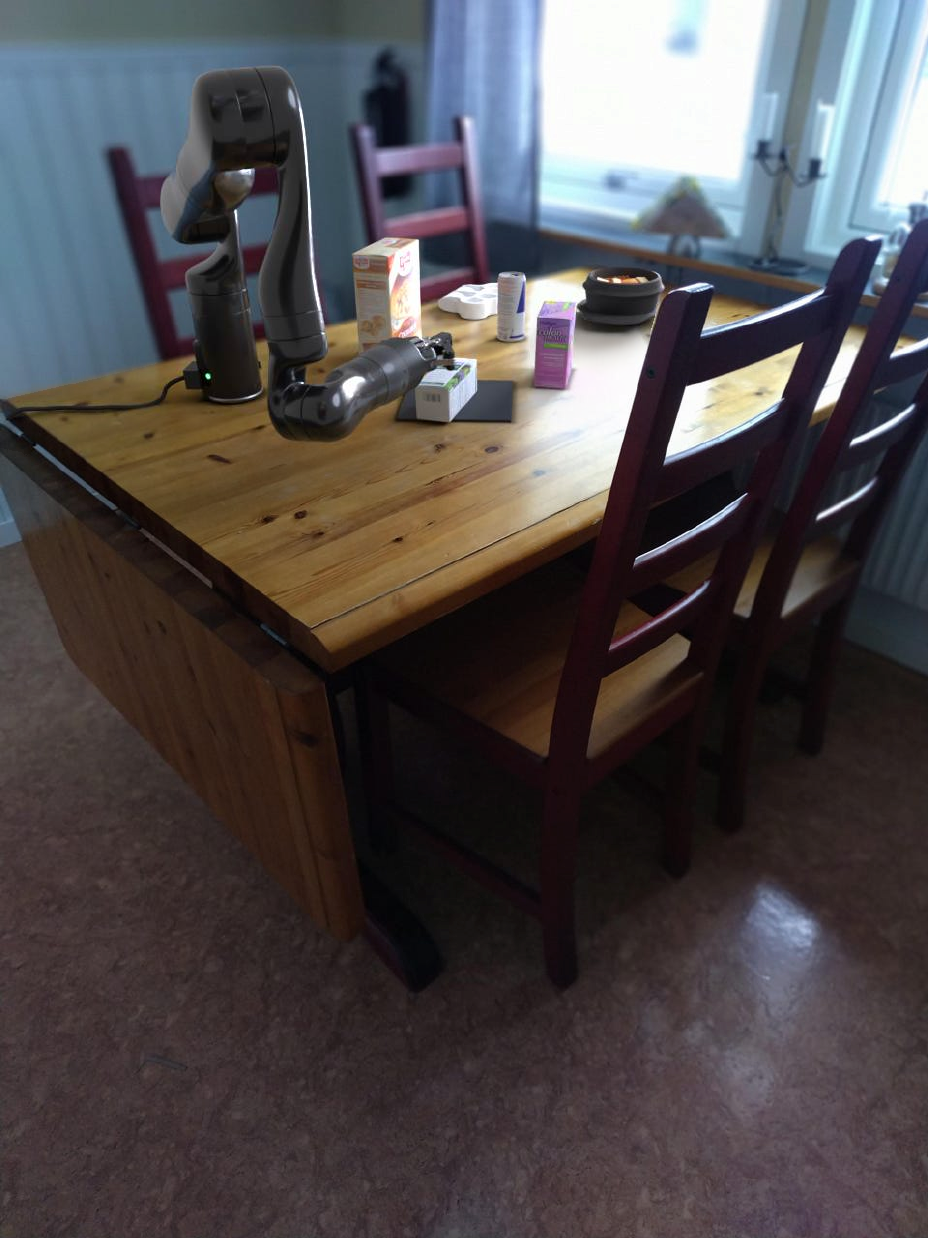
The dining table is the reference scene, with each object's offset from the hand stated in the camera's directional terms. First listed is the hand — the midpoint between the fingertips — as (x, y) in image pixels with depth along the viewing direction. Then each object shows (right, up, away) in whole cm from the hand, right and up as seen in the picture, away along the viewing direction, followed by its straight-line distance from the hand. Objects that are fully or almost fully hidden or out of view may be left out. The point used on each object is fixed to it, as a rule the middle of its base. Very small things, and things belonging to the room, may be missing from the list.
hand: (447, 338), depth 129 cm
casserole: (+36, +22, +51) cm, 66 cm away
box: (+18, 0, +20) cm, 27 cm away
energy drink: (+12, +13, +40) cm, 43 cm away
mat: (+2, -6, +12) cm, 14 cm away
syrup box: (-2, -10, +2) cm, 10 cm away
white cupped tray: (+6, +26, +58) cm, 64 cm away
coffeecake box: (-11, +7, +31) cm, 34 cm away
